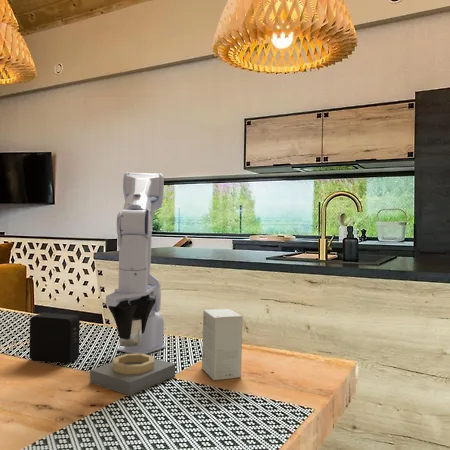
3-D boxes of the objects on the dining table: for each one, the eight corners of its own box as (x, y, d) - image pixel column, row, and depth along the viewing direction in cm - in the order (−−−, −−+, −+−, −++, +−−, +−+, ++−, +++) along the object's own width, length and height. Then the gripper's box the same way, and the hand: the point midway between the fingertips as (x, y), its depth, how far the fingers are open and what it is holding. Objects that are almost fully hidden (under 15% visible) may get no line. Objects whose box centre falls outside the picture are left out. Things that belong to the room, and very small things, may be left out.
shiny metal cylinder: (127, 339, 97) (127, 316, 97) (145, 342, 95) (145, 317, 95) (115, 345, 93) (115, 320, 93) (133, 347, 91) (133, 322, 91)
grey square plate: (136, 365, 102) (137, 347, 102) (175, 376, 96) (175, 357, 96) (89, 382, 92) (90, 362, 91) (129, 395, 85) (130, 374, 85)
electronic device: (69, 364, 102) (70, 319, 102) (29, 360, 104) (29, 316, 104) (79, 358, 106) (79, 315, 106) (40, 354, 108) (40, 312, 108)
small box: (241, 378, 96) (243, 315, 96) (212, 381, 94) (214, 317, 94) (228, 365, 104) (229, 307, 103) (201, 368, 102) (202, 309, 101)
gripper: (137, 264, 102) (136, 325, 102) (93, 271, 88) (92, 341, 89) (165, 266, 99) (163, 329, 99) (123, 274, 86) (122, 346, 86)
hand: (131, 335), depth 94 cm, fingers closed on shiny metal cylinder, 4 cm apart
